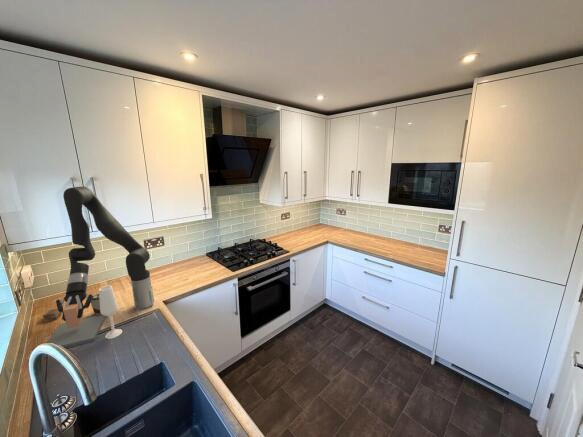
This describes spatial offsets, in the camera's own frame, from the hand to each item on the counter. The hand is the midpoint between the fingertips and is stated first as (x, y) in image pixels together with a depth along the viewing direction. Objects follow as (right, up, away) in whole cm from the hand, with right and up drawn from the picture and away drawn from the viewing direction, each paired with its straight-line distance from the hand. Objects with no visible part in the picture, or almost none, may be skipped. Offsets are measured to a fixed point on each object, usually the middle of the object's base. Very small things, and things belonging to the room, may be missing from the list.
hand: (72, 319), depth 110 cm
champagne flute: (+17, -8, +3) cm, 20 cm away
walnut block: (-24, -6, +15) cm, 28 cm away
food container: (0, -5, +21) cm, 22 cm away
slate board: (-1, -8, +4) cm, 9 cm away
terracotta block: (-1, -4, +2) cm, 4 cm away
